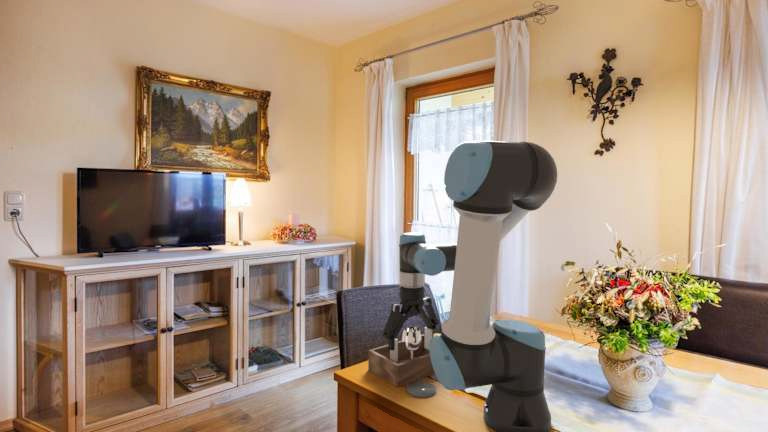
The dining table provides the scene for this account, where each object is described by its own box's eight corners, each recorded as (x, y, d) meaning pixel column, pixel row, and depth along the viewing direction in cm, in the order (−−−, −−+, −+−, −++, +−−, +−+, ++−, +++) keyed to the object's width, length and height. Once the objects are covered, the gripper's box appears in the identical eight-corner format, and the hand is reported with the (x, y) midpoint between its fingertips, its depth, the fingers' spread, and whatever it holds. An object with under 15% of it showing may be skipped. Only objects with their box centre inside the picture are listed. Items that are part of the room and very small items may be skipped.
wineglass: (424, 366, 131) (424, 328, 130) (415, 373, 126) (415, 333, 125) (408, 362, 134) (408, 324, 133) (398, 369, 130) (398, 330, 129)
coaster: (442, 391, 116) (442, 389, 116) (420, 400, 111) (420, 398, 111) (422, 380, 122) (422, 378, 122) (400, 388, 117) (400, 386, 117)
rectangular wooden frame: (454, 366, 132) (454, 347, 131) (397, 387, 118) (398, 366, 118) (423, 351, 143) (423, 334, 142) (368, 369, 129) (368, 350, 129)
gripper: (433, 276, 139) (433, 340, 141) (370, 288, 124) (370, 360, 126) (450, 281, 133) (449, 348, 135) (386, 294, 118) (386, 369, 120)
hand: (411, 354), depth 130 cm, fingers open, 13 cm apart
